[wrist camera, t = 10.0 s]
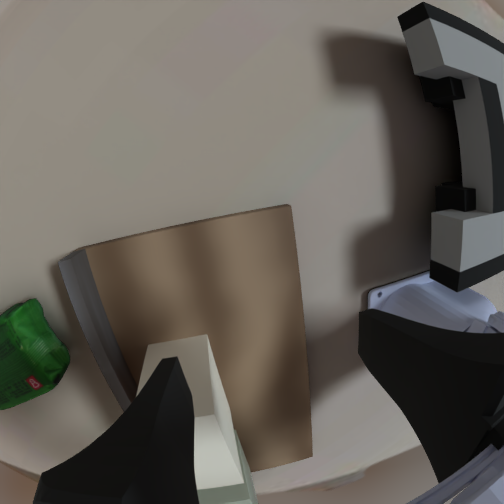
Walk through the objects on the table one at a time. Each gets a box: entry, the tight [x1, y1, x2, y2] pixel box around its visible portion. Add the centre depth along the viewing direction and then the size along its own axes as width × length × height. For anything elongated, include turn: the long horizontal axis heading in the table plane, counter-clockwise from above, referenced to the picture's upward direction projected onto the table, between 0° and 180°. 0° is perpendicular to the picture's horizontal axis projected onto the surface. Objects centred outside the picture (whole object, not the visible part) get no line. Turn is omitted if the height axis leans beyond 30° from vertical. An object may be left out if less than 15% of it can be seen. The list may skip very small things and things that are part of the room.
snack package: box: [0, 299, 70, 410], centre depth 16 cm, size 7×16×5 cm, turn 116°
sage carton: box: [197, 430, 258, 504], centre depth 20 cm, size 5×8×8 cm, turn 9°
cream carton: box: [136, 334, 244, 490], centre depth 17 cm, size 5×8×8 cm, turn 10°
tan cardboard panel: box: [58, 204, 313, 472], centre depth 21 cm, size 15×28×4 cm, turn 9°
